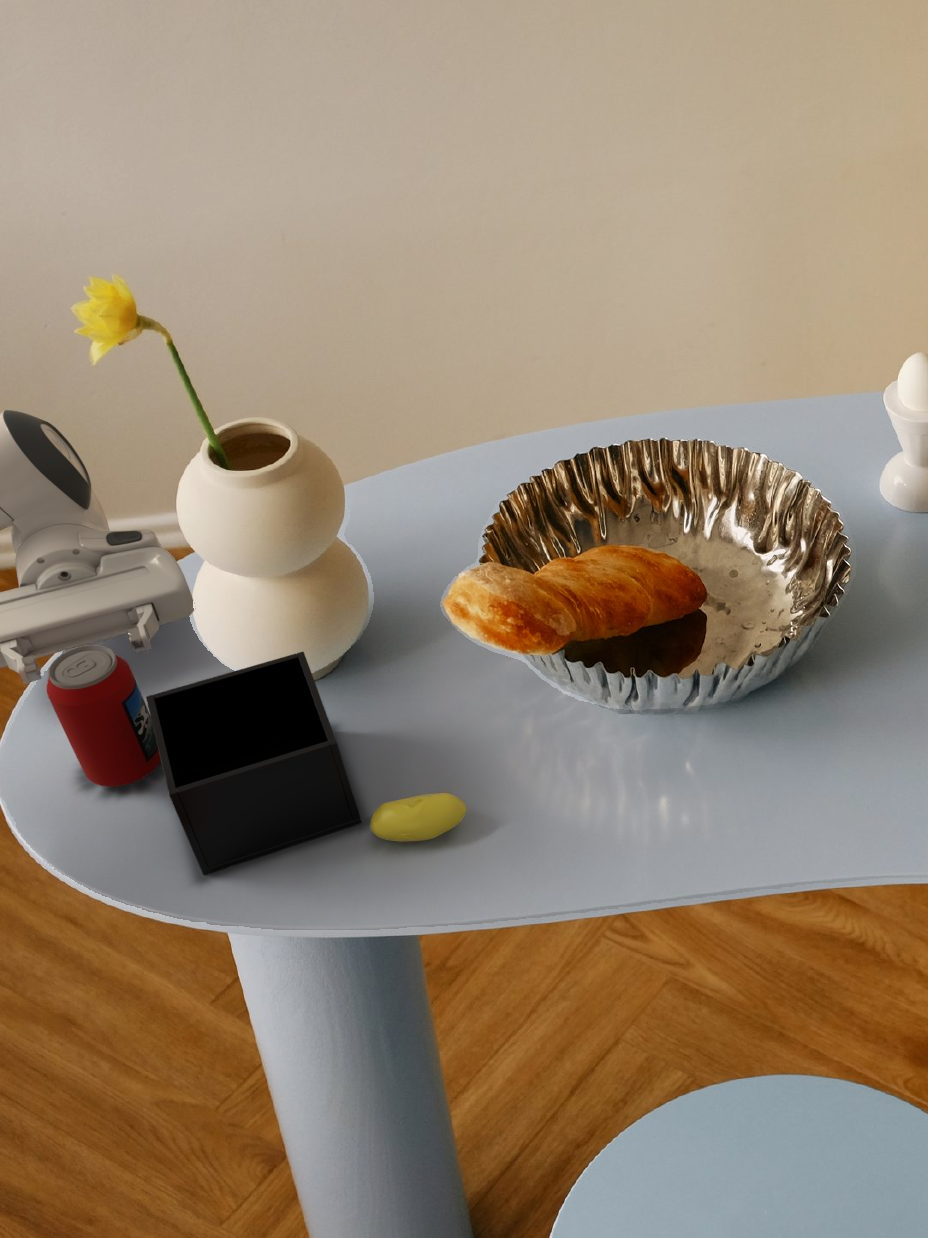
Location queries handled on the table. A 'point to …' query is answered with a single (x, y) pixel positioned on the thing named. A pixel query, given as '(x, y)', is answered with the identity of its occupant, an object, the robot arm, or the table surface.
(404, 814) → the yellow oval lump
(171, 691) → the open black box
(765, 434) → the table surface
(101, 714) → the beverage can
